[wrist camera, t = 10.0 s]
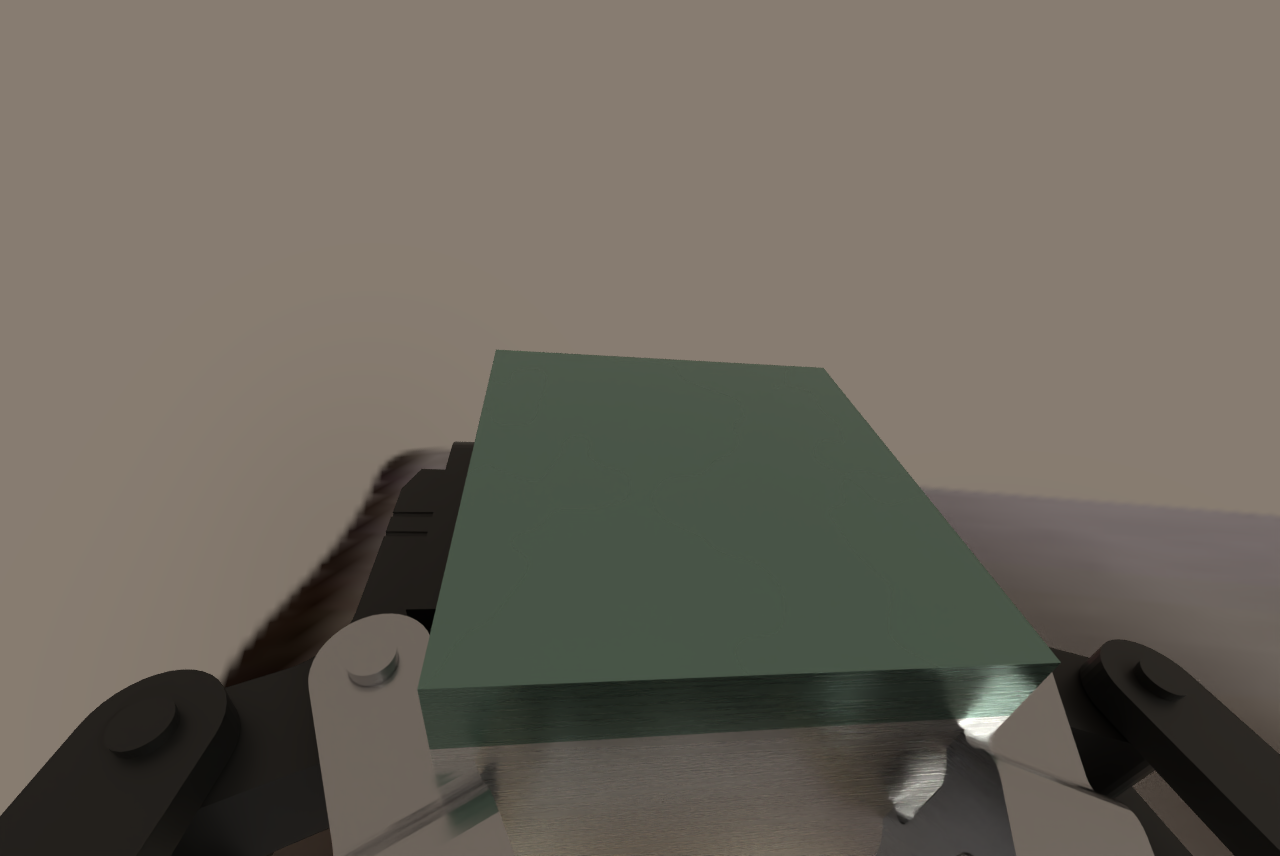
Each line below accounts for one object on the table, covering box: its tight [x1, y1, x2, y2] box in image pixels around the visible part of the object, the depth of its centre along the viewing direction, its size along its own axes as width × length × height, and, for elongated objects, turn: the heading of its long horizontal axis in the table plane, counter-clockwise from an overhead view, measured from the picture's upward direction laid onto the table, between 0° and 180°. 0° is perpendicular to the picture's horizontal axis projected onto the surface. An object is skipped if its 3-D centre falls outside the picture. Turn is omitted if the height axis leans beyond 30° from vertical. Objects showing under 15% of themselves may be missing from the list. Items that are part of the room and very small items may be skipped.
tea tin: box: [417, 350, 1061, 856], centre depth 10 cm, size 6×6×8 cm
